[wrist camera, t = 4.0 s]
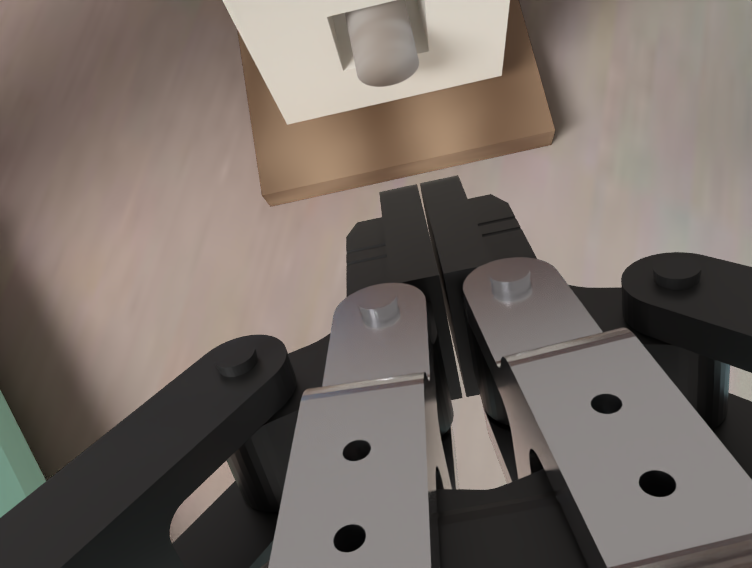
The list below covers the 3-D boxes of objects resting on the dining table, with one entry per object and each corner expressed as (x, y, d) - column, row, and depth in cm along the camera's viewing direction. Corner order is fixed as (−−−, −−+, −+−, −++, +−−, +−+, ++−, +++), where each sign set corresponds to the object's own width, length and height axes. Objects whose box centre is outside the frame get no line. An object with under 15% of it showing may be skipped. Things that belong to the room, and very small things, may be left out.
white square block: (287, 124, 31) (210, -23, 22) (278, 68, 32) (199, -98, 23) (501, 75, 31) (520, -99, 21) (486, 19, 31) (498, -173, 22)
